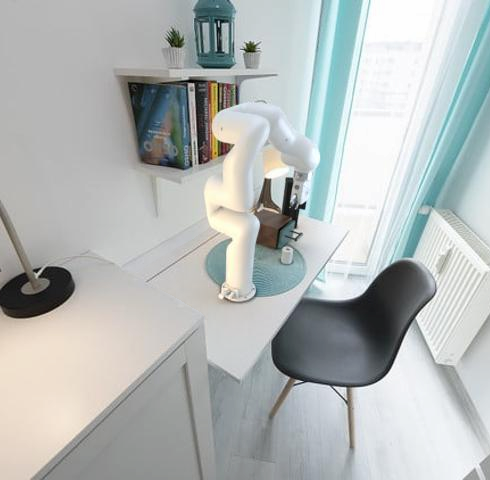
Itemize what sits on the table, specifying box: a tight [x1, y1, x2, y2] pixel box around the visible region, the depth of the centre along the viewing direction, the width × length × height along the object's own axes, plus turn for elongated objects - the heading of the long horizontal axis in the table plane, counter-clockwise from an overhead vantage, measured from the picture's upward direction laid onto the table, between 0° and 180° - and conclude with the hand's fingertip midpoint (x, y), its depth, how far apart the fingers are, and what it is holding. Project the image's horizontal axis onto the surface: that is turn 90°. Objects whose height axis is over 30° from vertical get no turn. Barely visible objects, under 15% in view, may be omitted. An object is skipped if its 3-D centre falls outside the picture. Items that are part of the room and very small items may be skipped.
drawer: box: [277, 220, 304, 250], centre depth 136 cm, size 20×14×9 cm, turn 57°
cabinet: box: [254, 208, 292, 250], centre depth 138 cm, size 16×15×11 cm
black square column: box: [280, 172, 301, 229], centre depth 147 cm, size 8×8×28 cm
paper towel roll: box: [280, 246, 294, 265], centre depth 123 cm, size 5×5×6 cm
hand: (297, 212), depth 126 cm, fingers open, 9 cm apart
